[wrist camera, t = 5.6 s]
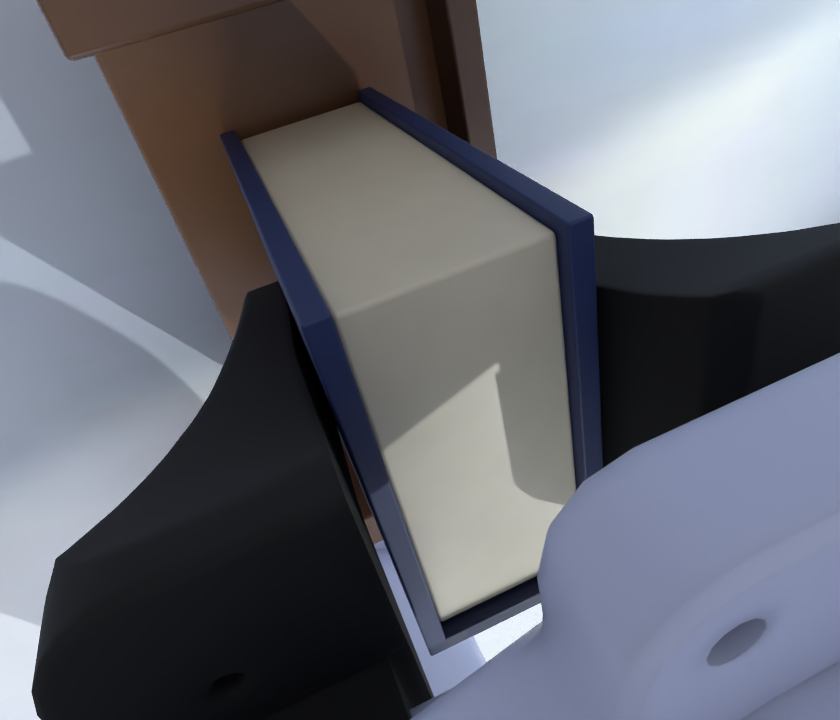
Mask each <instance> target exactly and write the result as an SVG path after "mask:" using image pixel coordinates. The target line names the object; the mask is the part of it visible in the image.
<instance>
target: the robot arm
mask: <svg viewBox="0 0 840 720" xmlns="http://www.w3.org/2000/svg"><path fill="white" fill-rule="evenodd" d="M594 243H595V268H596V294H597V319H598V345H599V370H600V395H601V421H602V446H603V468H602V469H601V470H599V471H598V472H596V473H595V474H593V475H592V476H590V477H589V478H588V479H586V480H585V481H583V483H582V484H581V485H580V486H579V488H578V489H577V490H576V492H575V493H574V494H573V495H572V497H571V498H570V499H569V501H568V502H567V503H566V504H565V506H564V507H563V508H562V510H561V511H560V512H559V513H558V515H557V516H556V517H555V519H554V520H553V521H552V522H551V524H550V526H549V528H548V531H547V534H546V538H545V543H544V548H543V552H542V557H541V561H540V566H539V571H538V575H537V580H538V586H539V592H540V598H541V605H542V611H543V621H542V622H541V623H539V624H538V625H536V626H535V627H534V628H532V629H531V630H530V631H528V632H527V633H526V634H524V635H523V636H522V637H520V638H519V639H518V640H516V641H515V642H514V643H512V644H511V645H509V646H508V647H507V648H505V649H504V650H503V651H501V652H500V653H499V654H497V655H496V656H495V657H493V658H492V659H491V660H489V661H488V662H487V663H486V661H485V659H484V657H483V655H482V653H481V651H480V649H479V647H478V645H477V642H476V640H475V638H474V636H472V637H470V638H468V639H466V640H464V641H462V642H460V643H458V644H456V645H454V646H452V647H450V648H448V649H446V650H444V651H442V652H440V653H438V654H436V655H434V656H431V655H430V653H429V651H428V649H427V646H426V644H425V641H424V639H423V636H422V634H421V631H420V629H419V627H418V624H417V622H416V619H415V617H414V614H413V612H412V610H411V607H410V605H409V602H408V600H407V597H406V595H405V592H404V590H403V588H402V585H401V583H400V580H399V578H398V575H397V573H396V570H395V568H394V566H393V563H392V561H391V558H390V556H389V553H388V551H387V549H386V546H385V544H384V541H380V542H378V543H376V544H373V541H372V539H371V536H370V534H369V531H368V529H367V526H366V524H365V521H364V518H363V515H362V512H361V509H360V506H359V503H358V500H357V497H356V493H355V489H354V486H353V482H352V479H351V475H350V471H349V468H348V464H347V461H346V457H345V453H344V450H343V446H342V443H341V439H340V435H339V432H338V428H337V425H336V423H335V420H334V418H333V415H332V413H331V410H330V408H329V405H328V403H327V400H326V398H325V395H324V393H323V390H322V388H321V385H320V383H319V380H318V378H317V375H316V373H315V370H314V368H313V365H312V363H311V360H310V358H309V355H308V353H307V350H306V348H305V345H304V343H303V340H302V338H301V335H300V333H299V330H298V328H297V325H296V323H295V320H294V318H293V315H292V313H291V310H290V308H289V305H288V303H287V300H286V298H285V295H284V293H283V291H282V288H281V286H280V284H279V282H278V281H276V282H274V283H271V284H268V285H266V286H263V287H260V288H257V289H255V290H252V291H249V292H247V295H246V297H245V299H244V303H243V308H242V312H241V316H240V320H239V323H238V327H237V330H236V333H235V336H234V339H233V342H232V345H231V348H230V351H229V353H228V356H227V358H226V361H225V363H224V365H223V367H222V370H221V372H220V374H219V376H218V379H217V381H216V383H215V385H214V387H213V389H212V391H211V393H210V395H209V397H208V398H207V400H206V401H205V403H204V405H203V406H202V408H201V409H200V411H199V413H198V414H197V416H196V417H195V419H194V420H193V422H192V423H191V424H190V425H189V427H188V428H187V429H186V431H185V432H184V433H183V435H182V436H181V437H180V438H179V440H178V441H177V442H176V444H175V445H174V446H173V447H172V449H171V450H170V451H169V453H168V454H167V455H166V456H165V458H164V459H163V460H162V461H161V462H160V463H159V464H158V465H157V467H156V468H155V469H154V470H153V471H152V472H151V473H150V474H149V475H148V476H147V478H146V479H145V480H144V481H143V482H142V483H141V484H140V485H139V486H138V487H137V488H136V489H135V490H134V491H133V492H132V493H131V494H130V495H129V496H128V497H127V498H126V499H125V500H124V501H123V502H122V503H120V504H119V505H118V506H117V507H116V508H115V509H114V510H113V511H112V512H111V513H110V514H108V515H107V516H106V517H105V518H104V519H103V520H102V521H100V522H99V523H98V524H97V525H96V526H95V527H93V528H92V529H91V530H90V531H89V532H88V533H86V534H85V535H84V536H83V537H82V538H81V539H79V540H78V541H77V542H76V543H75V544H74V545H72V546H71V547H70V548H69V549H68V550H66V551H65V552H64V553H63V554H61V555H60V556H59V557H58V558H56V560H55V564H54V568H53V573H52V576H51V580H50V584H49V588H48V592H47V596H46V601H45V606H44V612H43V618H42V624H41V631H40V638H39V645H38V652H37V659H36V665H35V672H34V679H33V686H32V696H33V700H34V704H35V708H36V712H37V716H38V717H39V718H40V719H41V720H840V223H836V224H830V225H824V226H818V227H812V228H806V229H800V230H794V231H787V232H779V233H769V234H760V235H750V236H741V237H727V238H712V239H676V240H659V239H634V238H616V237H605V236H595V235H594Z"/></svg>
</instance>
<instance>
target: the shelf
mask: <svg viewBox="0 0 840 720" xmlns="http://www.w3.org/2000/svg"><path fill="white" fill-rule="evenodd" d="M36 1H37V3H38V5H39V7H40V9H41V11H42V13H43V15H44V17H45V19H46V21H47V23H48V25H49V27H50V28H51V30H52V32H53V34H54V36H55V38H56V40H57V42H58V44H59V46H60V48H61V50H62V52H63V54H64V56H65V57H66V58H67V59H68V60H73V61H75V60H79V59H82V58H86V57H89V56H93V55H94V57H95V59H96V61H97V63H98V65H99V67H100V69H101V71H102V73H103V75H104V77H105V79H106V82H107V84H108V86H109V88H110V90H111V92H112V94H113V96H114V98H115V100H116V102H117V104H118V106H119V108H120V110H121V112H122V114H123V117H124V119H125V121H126V123H127V125H128V127H129V129H130V131H131V133H132V135H133V137H134V139H135V141H136V143H137V145H138V147H139V149H140V152H141V154H142V156H143V158H144V160H145V162H146V164H147V166H148V168H149V170H150V172H151V174H152V176H153V178H154V180H155V182H156V184H157V187H158V189H159V191H160V193H161V195H162V197H163V199H164V201H165V203H166V205H167V207H168V209H169V211H170V213H171V215H172V217H173V219H174V222H175V224H176V226H177V228H178V230H179V232H180V234H181V236H182V238H183V240H184V242H185V244H186V246H187V248H188V250H189V252H190V254H191V257H192V259H193V261H194V263H195V265H196V267H197V269H198V271H199V273H200V275H201V277H202V279H203V281H204V283H205V285H206V287H207V289H208V292H209V294H210V296H211V298H212V300H213V302H214V304H215V306H216V308H217V310H218V312H219V314H220V316H221V318H222V320H223V322H224V324H225V327H226V329H227V331H228V333H229V335H230V337H231V339H232V341H233V339H234V336H235V333H236V330H237V327H238V323H239V320H240V316H241V312H242V308H243V303H244V299H245V297H246V295H247V292H249V291H252V290H255V289H257V288H260V287H263V286H266V285H268V284H271V283H274V282H276V281H277V278H276V276H275V273H274V271H273V268H272V266H271V263H270V261H269V258H268V256H267V253H266V251H265V248H264V246H263V243H262V241H261V238H260V236H259V233H258V231H257V228H256V226H255V223H254V221H253V218H252V216H251V213H250V211H249V208H248V206H247V203H246V201H245V198H244V196H243V193H242V191H241V188H240V186H239V183H238V181H237V178H236V176H235V173H234V171H233V169H232V166H231V164H230V161H229V159H228V156H227V154H226V151H225V149H224V146H223V144H222V141H221V139H220V134H223V133H226V132H229V131H232V130H234V131H235V132H236V134H237V135H238V137H239V139H240V141H242V140H243V139H246V138H249V137H252V136H255V135H258V134H261V133H264V132H268V131H271V130H274V129H277V128H280V127H283V126H286V125H289V124H292V123H295V122H299V121H302V120H305V119H308V118H311V117H314V116H317V115H320V114H323V113H327V112H330V111H333V110H336V109H339V108H342V107H345V106H348V105H351V104H354V103H358V102H359V99H358V95H357V91H358V90H361V89H364V88H367V87H372V88H373V89H375V90H377V91H379V92H380V93H382V94H384V95H386V96H387V97H389V98H391V99H392V100H394V101H396V102H398V103H399V104H401V105H403V106H405V107H406V108H408V109H410V110H412V111H413V112H415V113H417V114H419V115H420V116H422V117H424V118H426V119H427V120H429V121H431V122H433V123H434V124H436V125H438V126H439V127H441V128H443V129H445V130H446V131H448V132H450V133H452V134H453V135H455V136H457V137H459V138H460V139H462V140H464V141H466V142H467V143H469V144H471V145H473V146H474V147H476V148H478V149H479V150H481V151H483V152H485V153H486V154H488V155H490V156H492V157H493V158H495V159H497V156H496V148H495V141H494V133H493V126H492V118H491V111H490V103H489V96H488V88H487V81H486V73H485V66H484V58H483V51H482V43H481V36H480V28H479V21H478V13H477V6H476V0H36ZM338 432H339V431H338ZM339 435H340V434H339ZM340 439H341V436H340ZM341 443H342V446H343V450H344V453H345V457H346V461H347V464H348V468H349V471H350V475H351V479H352V482H353V486H354V489H355V493H356V497H357V500H358V503H359V506H360V509H361V512H362V515H363V518H364V521H365V524H366V526H367V529H368V531H369V534H370V536H371V539H372V541H373V544H376V543H378V542H380V541H383V539H382V536H381V534H380V531H379V529H378V527H377V524H376V522H375V519H374V517H373V514H372V512H371V510H370V507H369V505H368V502H367V500H366V497H365V495H364V492H363V490H362V488H361V485H360V483H359V480H358V478H357V475H356V473H355V470H354V468H353V466H352V463H351V461H350V458H349V456H348V453H347V451H346V449H345V446H344V444H343V441H342V439H341Z"/></svg>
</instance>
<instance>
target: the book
mask: <svg viewBox="0 0 840 720" xmlns="http://www.w3.org/2000/svg"><path fill="white" fill-rule="evenodd" d="M357 95H358V99H359V102H358V103H354V104H351V105H348V106H345V107H342V108H339V109H336V110H333V111H330V112H327V113H323V114H320V115H317V116H314V117H311V118H308V119H305V120H302V121H299V122H295V123H292V124H289V125H286V126H283V127H280V128H277V129H274V130H271V131H268V132H264V133H261V134H258V135H255V136H252V137H249V138H246V139H243V140H242V141H240V139H239V137H238V135H237V134H236V132H235V131H234V130H232V131H229V132H226V133H223V134H220V139H221V141H222V144H223V146H224V149H225V151H226V154H227V156H228V159H229V161H230V164H231V166H232V169H233V171H234V173H235V176H236V178H237V181H238V183H239V186H240V188H241V191H242V193H243V196H244V198H245V201H246V203H247V206H248V208H249V211H250V213H251V216H252V218H253V221H254V223H255V226H256V228H257V231H258V233H259V236H260V238H261V241H262V243H263V246H264V248H265V251H266V253H267V256H268V258H269V261H270V263H271V266H272V268H273V271H274V273H275V276H276V278H277V281H278V282H279V284H280V286H281V288H282V291H283V293H284V295H285V298H286V300H287V303H288V305H289V308H290V310H291V313H292V315H293V318H294V320H295V323H296V325H297V328H298V330H299V333H300V335H301V338H302V340H303V343H304V345H305V348H306V350H307V353H308V355H309V358H310V360H311V363H312V365H313V368H314V370H315V373H316V375H317V378H318V380H319V383H320V385H321V388H322V390H323V393H324V395H325V398H326V400H327V403H328V405H329V408H330V410H331V413H332V415H333V418H334V420H335V423H336V425H337V428H338V431H339V434H340V436H341V439H342V441H343V444H344V446H345V449H346V451H347V453H348V456H349V458H350V461H351V463H352V466H353V468H354V470H355V473H356V475H357V478H358V480H359V483H360V485H361V488H362V490H363V492H364V495H365V497H366V500H367V502H368V505H369V507H370V510H371V512H372V514H373V517H374V519H375V522H376V524H377V527H378V529H379V531H380V534H381V536H382V539H383V541H384V544H385V546H386V549H387V551H388V553H389V556H390V558H391V561H392V563H393V566H394V568H395V570H396V573H397V575H398V578H399V580H400V583H401V585H402V588H403V590H404V592H405V595H406V597H407V600H408V602H409V605H410V607H411V610H412V612H413V614H414V617H415V619H416V622H417V624H418V627H419V629H420V631H421V634H422V636H423V639H424V641H425V644H426V646H427V649H428V651H429V653H430V655H431V656H434V655H436V654H438V653H440V652H442V651H444V650H446V649H448V648H450V647H452V646H454V645H456V644H458V643H460V642H462V641H464V640H466V639H468V638H470V637H472V636H474V635H476V634H478V633H480V632H482V631H484V630H486V629H488V628H490V627H492V626H494V625H496V624H498V623H500V622H502V621H504V620H506V619H508V618H511V617H513V616H515V615H517V614H519V613H521V612H523V611H525V610H527V609H529V608H531V607H533V606H535V605H537V604H539V603H541V598H540V592H539V586H538V580H537V575H538V571H539V566H540V561H541V557H542V552H543V548H544V543H545V538H546V534H547V531H548V528H549V526H550V524H551V522H552V521H553V520H554V519H555V517H556V516H557V515H558V513H559V512H560V511H561V510H562V508H563V507H564V506H565V504H566V503H567V502H568V501H569V499H570V498H571V497H572V495H573V494H574V493H575V492H576V490H577V489H578V488H579V486H580V485H581V484H582V483H583V481H585V480H586V479H588V478H589V477H590V476H592V475H593V474H595V473H596V472H598V471H599V470H601V469H602V468H603V446H602V421H601V395H600V370H599V345H598V319H597V294H596V268H595V243H594V217H593V215H592V214H591V213H589V212H587V211H586V210H584V209H582V208H580V207H579V206H577V205H575V204H573V203H572V202H570V201H568V200H567V199H565V198H563V197H561V196H560V195H558V194H556V193H554V192H553V191H551V190H549V189H547V188H546V187H544V186H542V185H540V184H539V183H537V182H535V181H533V180H532V179H530V178H528V177H526V176H525V175H523V174H521V173H520V172H518V171H516V170H514V169H513V168H511V167H509V166H507V165H506V164H504V163H502V162H500V161H499V160H497V159H495V158H493V157H492V156H490V155H488V154H486V153H485V152H483V151H481V150H479V149H478V148H476V147H474V146H473V145H471V144H469V143H467V142H466V141H464V140H462V139H460V138H459V137H457V136H455V135H453V134H452V133H450V132H448V131H446V130H445V129H443V128H441V127H439V126H438V125H436V124H434V123H433V122H431V121H429V120H427V119H426V118H424V117H422V116H420V115H419V114H417V113H415V112H413V111H412V110H410V109H408V108H406V107H405V106H403V105H401V104H399V103H398V102H396V101H394V100H392V99H391V98H389V97H387V96H386V95H384V94H382V93H380V92H379V91H377V90H375V89H373V88H372V87H367V88H364V89H361V90H358V91H357Z"/></svg>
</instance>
